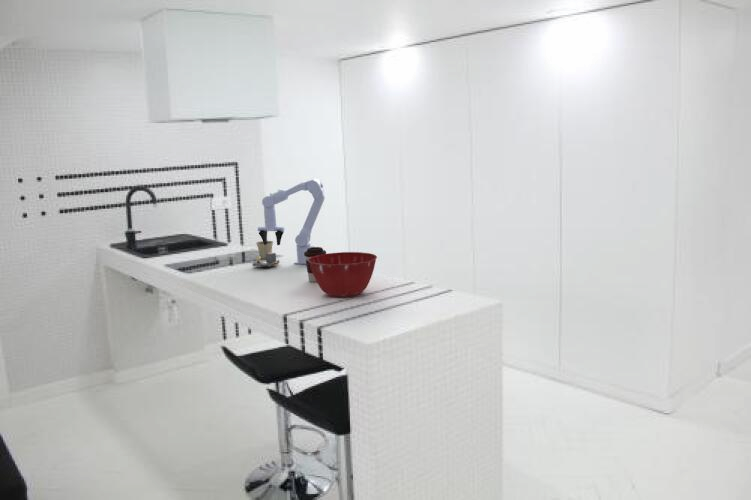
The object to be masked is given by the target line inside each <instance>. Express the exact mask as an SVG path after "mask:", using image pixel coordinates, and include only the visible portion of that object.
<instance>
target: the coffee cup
mask: <svg viewBox="0 0 751 500" xmlns="http://www.w3.org/2000/svg"><path fill="white" fill-rule="evenodd" d="M322 254H327V250H324V248H323V247H320V246H314V247H312V248H308V249H307V251H306V252H304V256H306V264H305V265H306V272H307V277H308V281H309V282H311V283H317V281H316V279H315V277H314V275H313V272H312V270H311V267H310V264H309V262H308V259H309V258H311V257H314V256H317V255H322Z"/></svg>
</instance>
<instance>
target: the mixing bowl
mask: <svg viewBox="0 0 751 500" xmlns="http://www.w3.org/2000/svg"><path fill="white" fill-rule="evenodd" d="M377 259H378V256H377V255H376V254H373V253H369V252H362V251H361V252H358V251H356V252H355V251H346V252H345V251H344V252H343V251H342V252H340V251H339V252H330V253H326V254H322V255H317V256H314V257H311V258H309V259H308V262H309V264H310V267H311V270H312V272H313V275H314V277H315V279H316V281H317V282H316V283H317V285H318V286H319V288H320V290H321V291H322V292H323V293H325V294H326V295H327V296H329V297H333V298H350V297H355V296H358V295H360V294H361V293H362V292H364V291H365V290H366V289H367V288H368V286H369V284H370V281H371V280H372V276H373V273H374V271H375V270H374V269H375V266H376V262H377V261H376V260H377Z"/></svg>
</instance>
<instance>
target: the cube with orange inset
mask: <svg viewBox="0 0 751 500" xmlns="http://www.w3.org/2000/svg"><path fill="white" fill-rule="evenodd" d="M276 255H277V254H276V252H272V253H267V254H266V258H265V260H266V262H268V263H272V262H276V260H277V256H276Z"/></svg>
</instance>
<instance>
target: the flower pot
mask: <svg viewBox="0 0 751 500" xmlns="http://www.w3.org/2000/svg"><path fill="white" fill-rule="evenodd" d="M255 244H256V246H257V249H258V253H259V254H258V255H259V256H260V260H266V254H267V253H273V244H274V241H272V240H267V245H264V243H263V240H261V241H257V242H255Z"/></svg>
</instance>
